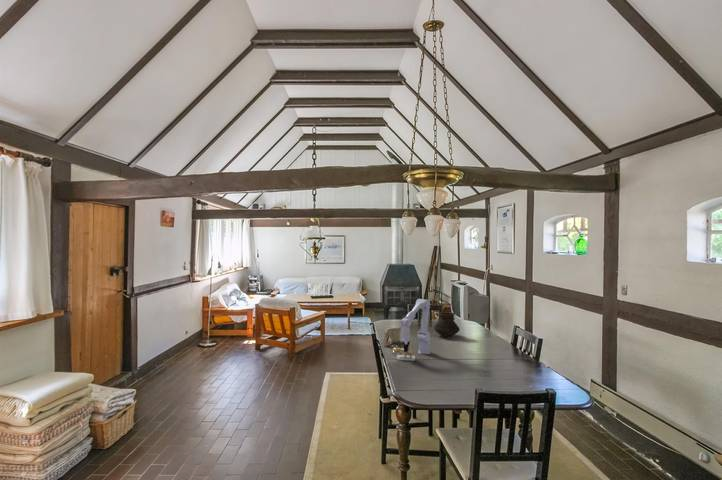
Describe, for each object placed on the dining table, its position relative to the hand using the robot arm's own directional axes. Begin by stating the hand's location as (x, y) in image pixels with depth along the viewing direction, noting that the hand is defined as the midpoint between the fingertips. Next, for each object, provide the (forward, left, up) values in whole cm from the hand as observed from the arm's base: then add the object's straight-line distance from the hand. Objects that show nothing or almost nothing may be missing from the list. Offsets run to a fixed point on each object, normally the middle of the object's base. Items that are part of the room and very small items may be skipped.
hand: (406, 351), depth 289 cm
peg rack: (0, 0, -6) cm, 6 cm away
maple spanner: (0, 0, -2) cm, 2 cm away
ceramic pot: (-38, -77, -6) cm, 86 cm away
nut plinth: (+8, -16, -6) cm, 18 cm away
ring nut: (+8, -17, -5) cm, 19 cm away
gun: (+13, -42, -6) cm, 44 cm away
